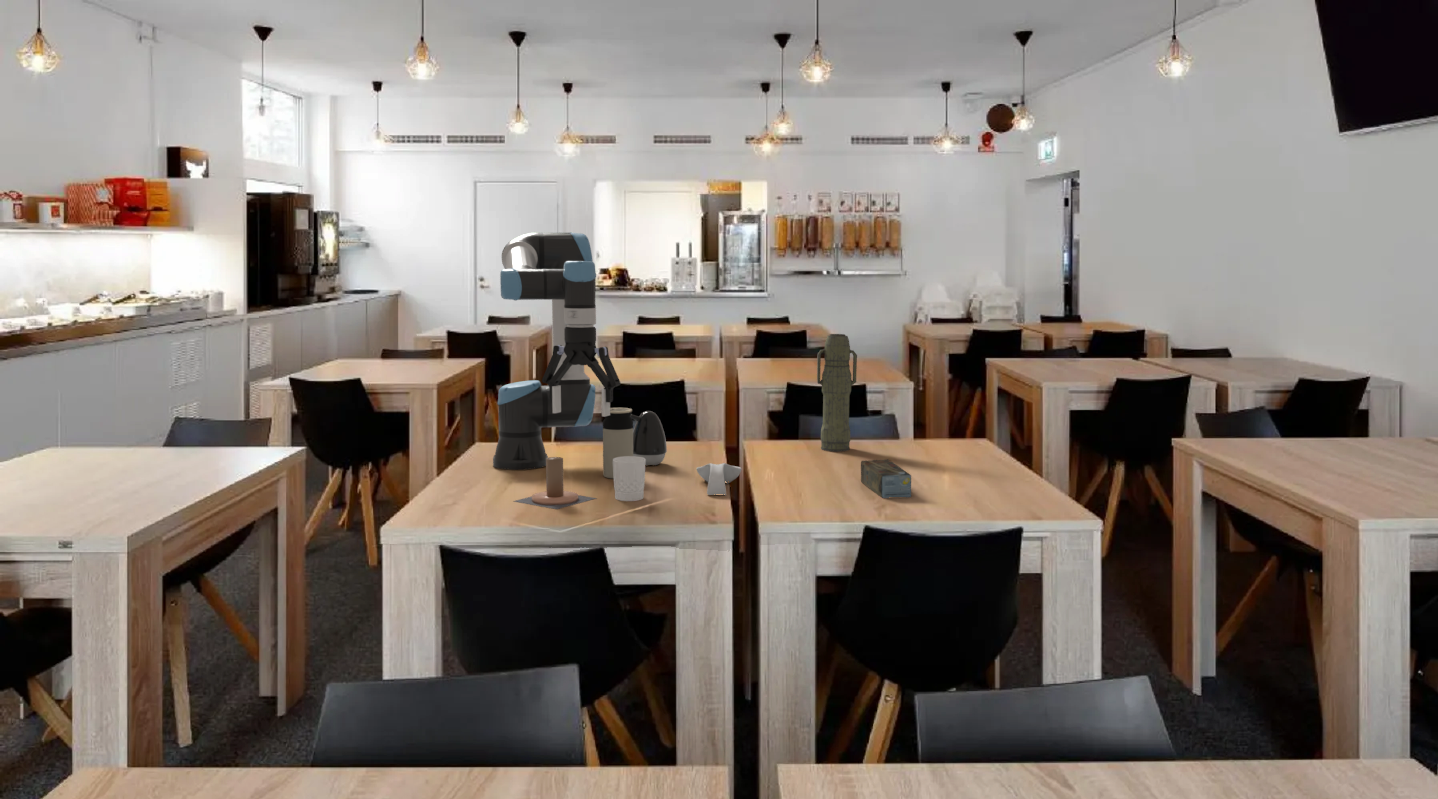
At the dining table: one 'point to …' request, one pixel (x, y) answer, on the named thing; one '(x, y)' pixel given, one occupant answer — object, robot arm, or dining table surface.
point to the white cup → (629, 478)
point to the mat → (580, 500)
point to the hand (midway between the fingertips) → (581, 414)
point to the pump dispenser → (649, 438)
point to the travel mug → (616, 438)
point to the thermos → (836, 392)
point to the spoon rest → (718, 476)
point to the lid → (554, 485)
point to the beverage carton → (885, 478)
